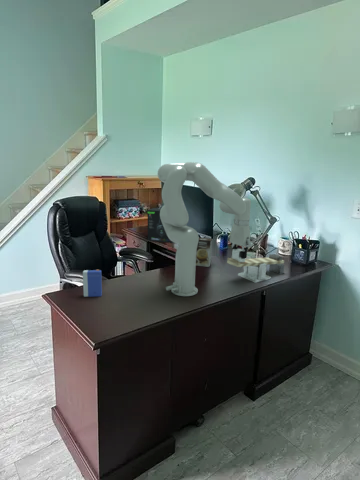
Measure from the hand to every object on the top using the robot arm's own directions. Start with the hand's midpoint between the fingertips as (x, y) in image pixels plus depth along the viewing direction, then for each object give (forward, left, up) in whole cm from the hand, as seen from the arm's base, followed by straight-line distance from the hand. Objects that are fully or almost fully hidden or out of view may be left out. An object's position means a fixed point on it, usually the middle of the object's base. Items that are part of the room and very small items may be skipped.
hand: (239, 256), depth 175 cm
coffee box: (+1, +31, -14) cm, 34 cm away
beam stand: (+19, 0, -14) cm, 24 cm away
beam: (+14, 0, -6) cm, 15 cm away
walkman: (-71, +19, -14) cm, 75 cm away
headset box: (+12, +95, -14) cm, 96 cm away
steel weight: (0, 0, -3) cm, 3 cm away
